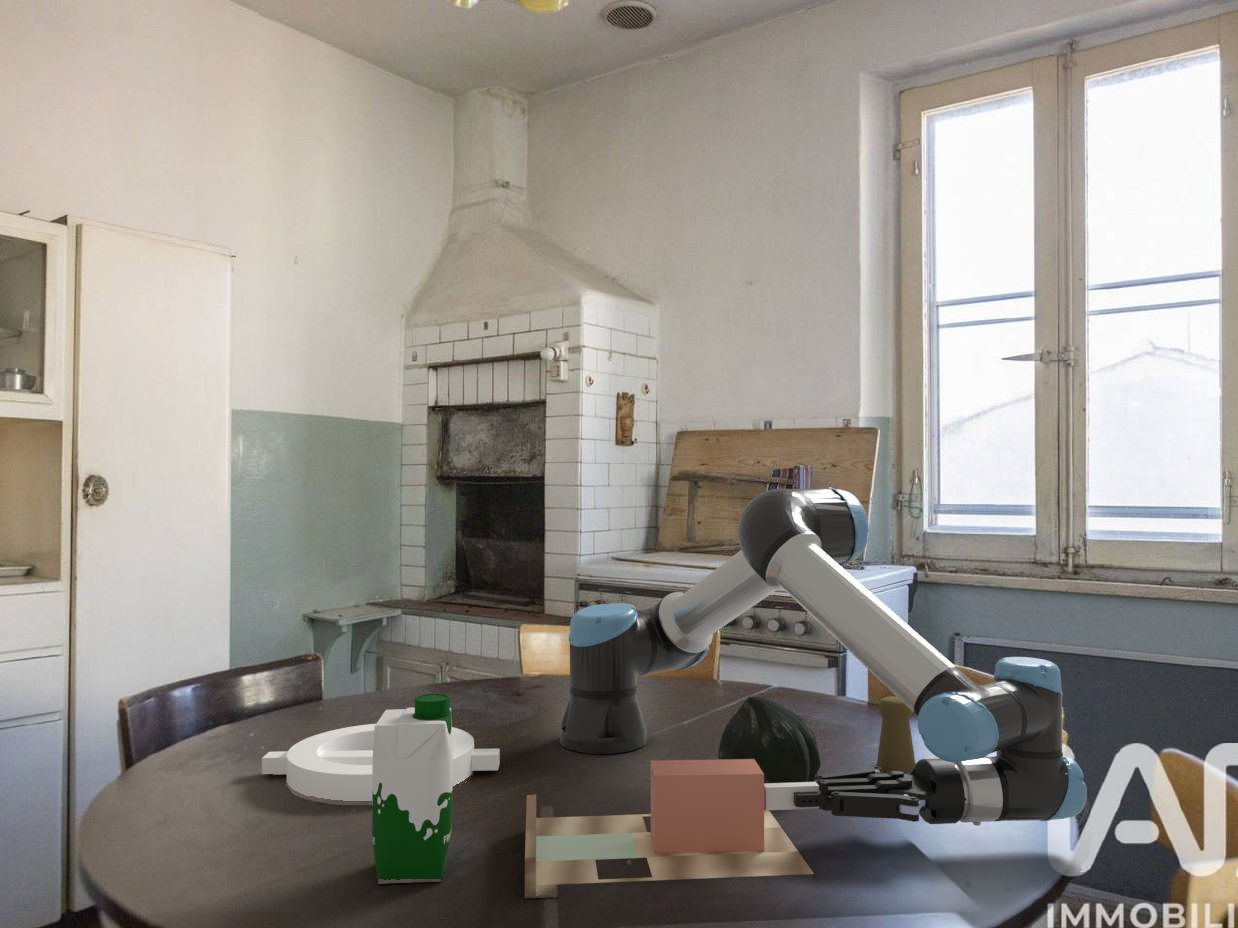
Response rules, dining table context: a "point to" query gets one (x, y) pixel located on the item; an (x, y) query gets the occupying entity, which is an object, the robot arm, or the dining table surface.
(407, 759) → the milk carton
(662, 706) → the dining table surface
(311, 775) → the ring with crossbar
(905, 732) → the cork
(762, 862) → the board
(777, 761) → the squash
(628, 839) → the pad
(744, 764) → the brick
